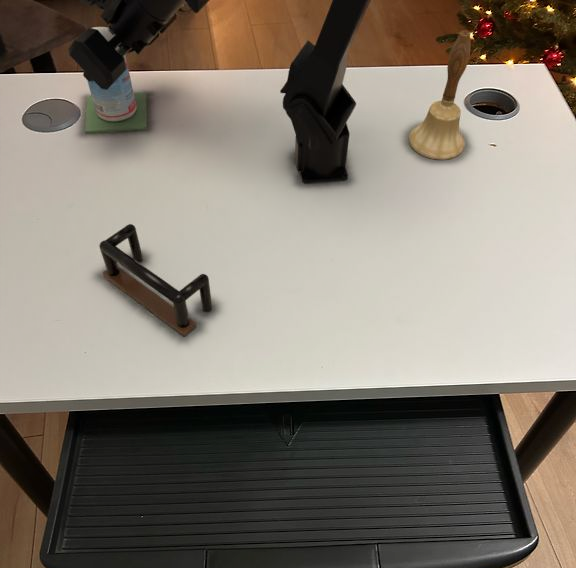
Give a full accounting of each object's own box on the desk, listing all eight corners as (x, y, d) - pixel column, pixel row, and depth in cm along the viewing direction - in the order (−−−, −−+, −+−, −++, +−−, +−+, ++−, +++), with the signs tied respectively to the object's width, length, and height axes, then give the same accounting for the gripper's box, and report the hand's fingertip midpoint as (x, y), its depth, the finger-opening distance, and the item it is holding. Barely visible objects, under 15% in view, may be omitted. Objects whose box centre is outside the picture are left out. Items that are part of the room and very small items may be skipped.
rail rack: (136, 253, 76) (127, 218, 72) (216, 309, 72) (213, 276, 67) (103, 277, 74) (91, 242, 69) (184, 337, 69) (177, 304, 65)
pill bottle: (141, 118, 91) (125, 42, 82) (100, 126, 90) (79, 50, 80) (132, 96, 94) (116, 20, 85) (93, 104, 93) (72, 28, 83)
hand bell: (475, 152, 89) (511, 42, 76) (425, 165, 87) (453, 54, 74) (446, 120, 93) (475, 10, 80) (398, 132, 91) (420, 21, 78)
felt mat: (146, 94, 95) (146, 92, 95) (146, 129, 90) (146, 127, 90) (88, 98, 94) (87, 95, 94) (85, 133, 89) (84, 131, 89)
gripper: (141, -93, 76) (88, -14, 88) (59, -30, 67) (11, 50, 78) (204, -13, 82) (146, 52, 93) (136, 56, 72) (80, 119, 83)
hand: (98, 66), depth 87 cm, fingers closed on pill bottle, 6 cm apart
